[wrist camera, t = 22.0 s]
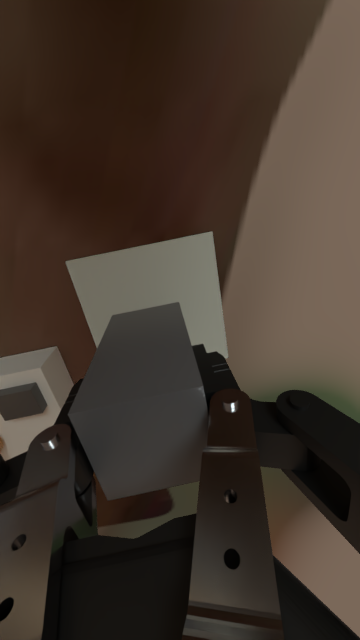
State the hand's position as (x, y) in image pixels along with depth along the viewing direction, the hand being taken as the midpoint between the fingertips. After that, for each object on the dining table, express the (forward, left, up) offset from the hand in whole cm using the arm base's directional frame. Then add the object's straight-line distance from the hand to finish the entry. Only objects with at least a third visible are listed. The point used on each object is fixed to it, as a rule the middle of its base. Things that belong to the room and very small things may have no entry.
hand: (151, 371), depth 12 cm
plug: (0, 0, -4) cm, 4 cm away
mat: (0, 0, -8) cm, 8 cm away
